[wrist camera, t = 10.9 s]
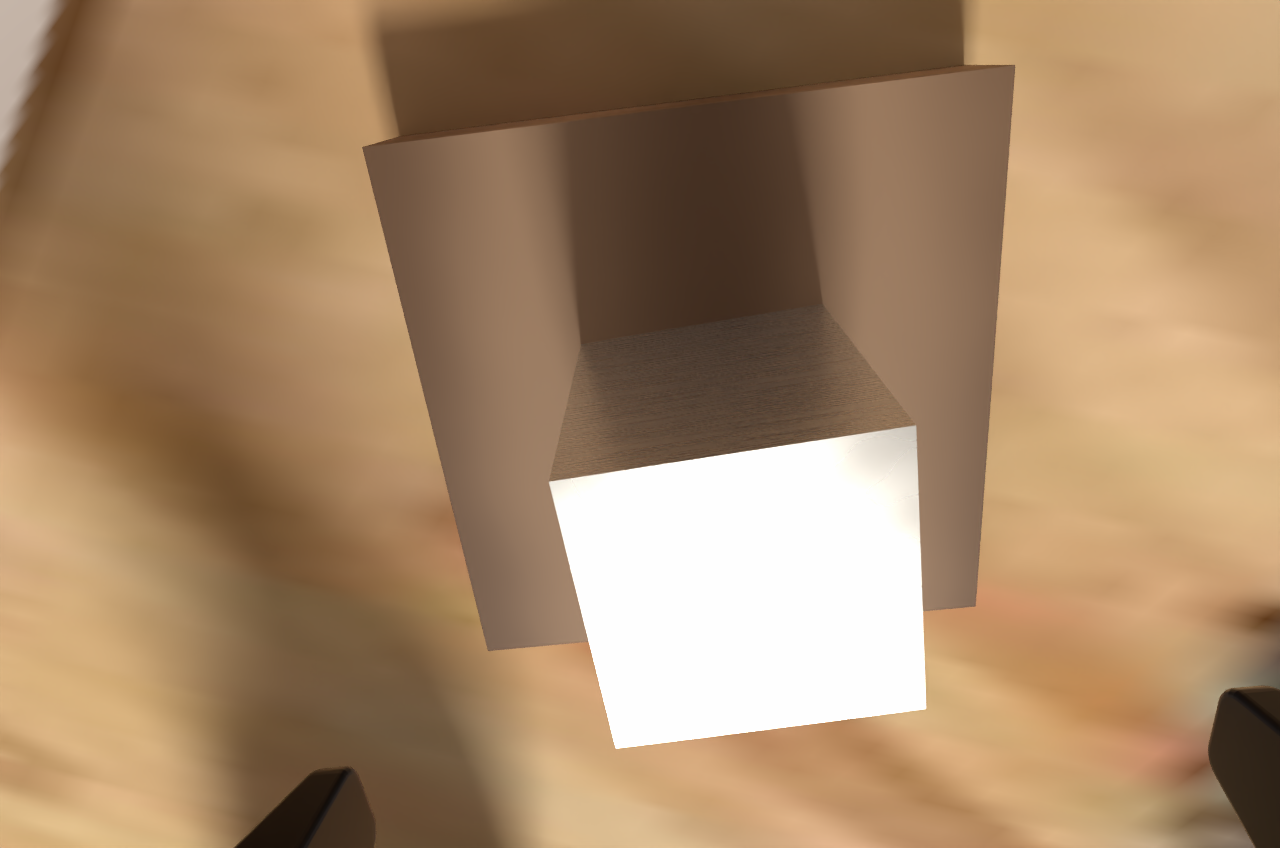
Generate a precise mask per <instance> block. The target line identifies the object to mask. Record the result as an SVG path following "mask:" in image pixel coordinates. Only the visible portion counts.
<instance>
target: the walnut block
mask: <svg viewBox="0 0 1280 848" xmlns="http://www.w3.org/2000/svg"><path fill="white" fill-rule="evenodd" d="M1014 75H1015V65H962V66H954V67H946V68H938V69H930V70H923V71H915V72H907V73H899V74H891V75H883V76H875V77H867V78H859V79H851V80H843V81H835V82H827V83H819V84H812V85H804V86H796V87H788V88H780V89H772V90H764V91H756V92H748V93H740V94H732V95H724V96H716V97H708V98H701V99H693V100H685V101H677V102H669V103H661V104H653V105H645V106H637V107H629V108H621V109H613V110H605V111H597V112H590V113H582V114H574V115H566V116H558V117H550V118H542V119H534V120H526V121H518V122H510V123H502V124H494V125H486V126H478V127H471V128H463V129H455V130H447V131H439V132H431V133H423V134H415V135H407V136H399V137H396V138H393V139H389V140H386V141H382V142H379V143H375V144H372V145H369V146H365V147H362V148H363V152H364V156H365V160H366V164H367V168H368V172H369V176H370V180H371V184H372V188H373V192H374V196H375V200H376V204H377V208H378V212H379V216H380V220H381V224H382V228H383V232H384V236H385V240H386V244H387V248H388V252H389V256H390V260H391V264H392V268H393V272H394V276H395V280H396V284H397V288H398V292H399V296H400V300H401V304H402V308H403V312H404V316H405V320H406V324H407V328H408V332H409V336H410V340H411V344H412V348H413V352H414V356H415V360H416V364H417V368H418V372H419V376H420V380H421V384H422V388H423V392H424V396H425V400H426V404H427V408H428V412H429V416H430V420H431V424H432V428H433V432H434V436H435V440H436V444H437V448H438V452H439V456H440V460H441V464H442V468H443V472H444V477H445V481H446V485H447V489H448V493H449V497H450V501H451V505H452V509H453V513H454V517H455V521H456V525H457V529H458V533H459V537H460V541H461V545H462V549H463V553H464V557H465V561H466V565H467V569H468V573H469V577H470V581H471V585H472V589H473V593H474V597H475V601H476V605H477V609H478V613H479V617H480V621H481V625H482V629H483V633H484V637H485V641H486V645H487V649H488V651H493V650H504V649H515V648H525V647H536V646H547V645H558V644H569V643H580V642H589V639H588V635H587V631H586V628H585V624H584V620H583V616H582V612H581V608H580V604H579V600H578V596H577V592H576V588H575V584H574V580H573V576H572V572H571V568H570V564H569V560H568V556H567V552H566V548H565V544H564V540H563V536H562V532H561V528H560V524H559V520H558V516H557V513H556V509H555V505H554V501H553V497H552V493H551V489H550V485H549V479H550V474H551V470H552V466H553V461H554V457H555V453H556V449H557V444H558V440H559V436H560V431H561V427H562V423H563V419H564V414H565V410H566V406H567V401H568V397H569V393H570V389H571V384H572V380H573V376H574V371H575V367H576V363H577V359H578V354H579V350H580V346H581V344H584V343H590V342H596V341H602V340H608V339H614V338H620V337H626V336H632V335H638V334H644V333H650V332H656V331H662V330H668V329H674V328H680V327H686V326H692V325H698V324H704V323H710V322H716V321H722V320H728V319H734V318H740V317H746V316H752V315H758V314H764V313H770V312H776V311H782V310H788V309H794V308H800V307H806V306H812V305H818V304H823V305H824V306H825V307H826V309H827V310H828V311H829V313H830V314H831V315H832V317H833V318H834V319H835V320H836V322H837V323H838V324H839V326H840V327H841V328H842V330H843V331H844V332H845V333H846V335H847V336H848V337H849V339H850V340H851V341H852V343H853V344H854V345H855V346H856V348H857V349H858V350H859V352H860V353H861V354H862V356H863V357H864V358H865V359H866V361H867V362H868V363H869V365H870V366H871V367H872V369H873V370H874V371H875V372H876V374H877V375H878V376H879V378H880V379H881V380H882V382H883V383H884V384H885V385H886V387H887V388H888V389H889V391H890V392H891V393H892V395H893V396H894V397H895V398H896V400H897V401H898V402H899V404H900V405H901V406H902V407H903V409H904V410H905V411H906V413H907V414H908V415H909V417H910V418H911V419H912V420H913V422H914V423H915V424H916V433H917V462H918V491H919V519H920V548H921V577H922V605H923V611H931V610H942V609H953V608H964V607H975V606H976V593H977V579H978V566H979V552H980V538H981V525H982V511H983V497H984V484H985V470H986V457H987V443H988V429H989V416H990V402H991V389H992V375H993V361H994V348H995V334H996V320H997V307H998V293H999V280H1000V266H1001V252H1002V239H1003V225H1004V212H1005V198H1006V184H1007V171H1008V157H1009V144H1010V130H1011V116H1012V103H1013V89H1014Z"/></svg>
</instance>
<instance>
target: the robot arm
mask: <svg viewBox="0 0 1280 848" xmlns="http://www.w3.org/2000/svg"><path fill="white" fill-rule="evenodd" d="M1208 755H1209V760H1210V764H1211V767H1212V770H1213V772H1214V774H1215V776H1216V778H1217V780H1218V782H1219V783H1220V785H1221V787H1222V789H1223V791H1224V792H1225V794H1226V796H1227V798H1228V800H1229V802H1230V803H1231V805H1232V807H1233V809H1234V811H1235V812H1236V814H1237V816H1238V818H1239V820H1240V822H1241V823H1242V825H1243V827H1244V829H1245V831H1246V832H1247V834H1248V836H1249V838H1250V840H1251V842H1252V843H1253V845H1254V847H1255V848H1280V690H1279V689H1276V688H1274V687H1270V686H1252V687H1240V688H1231V689H1228V690H1226V691H1225V692H1224V693H1223V694H1222V695H1221V696H1220V699H1219V702H1218V706H1217V710H1216V715H1215V719H1214V723H1213V728H1212V732H1211V736H1210V740H1209V745H1208ZM375 841H376V823H375V818H374V815H373V812H372V809H371V807H370V804H369V801H368V799H367V796H366V794H365V791H364V788H363V786H362V783H361V780H360V778H359V775H358V773H357V772H356V771H355V770H354V769H353V768H352V767H336V768H325V769H318V770H316V771H314V772H312V773H311V774H309V775H308V776H307V777H306V778H305V779H304V780H303V781H302V782H301V783H300V784H299V785H298V786H297V787H296V788H295V789H294V790H293V791H291V792H290V793H289V794H288V795H287V796H286V797H285V798H284V799H283V800H282V801H281V802H280V803H279V804H278V805H277V806H276V807H275V808H274V809H273V810H272V811H271V812H270V813H269V814H268V815H267V816H266V817H265V818H264V819H263V820H262V821H261V822H260V823H259V824H258V825H257V826H256V827H255V828H253V829H252V830H251V831H250V832H249V833H248V834H247V835H246V836H245V837H244V838H243V839H242V840H241V841H240V842H239V843H238V844H237V845H236V846H235V847H234V848H374V847H375Z"/></svg>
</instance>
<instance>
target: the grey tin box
mask: <svg viewBox="0 0 1280 848" xmlns="http://www.w3.org/2000/svg"><path fill="white" fill-rule="evenodd" d="M549 485H550V489H551V493H552V497H553V501H554V505H555V509H556V513H557V516H558V520H559V524H560V528H561V532H562V536H563V540H564V544H565V548H566V552H567V556H568V560H569V564H570V568H571V572H572V576H573V580H574V584H575V588H576V592H577V596H578V600H579V604H580V608H581V612H582V616H583V620H584V624H585V628H586V631H587V635H588V639H589V643H590V647H591V651H592V655H593V659H594V663H595V667H596V671H597V675H598V679H599V683H600V687H601V691H602V695H603V699H604V703H605V707H606V711H607V715H608V719H609V723H610V727H611V731H612V735H613V739H614V742H615V746H616V748H622V747H630V746H638V745H646V744H653V743H661V742H669V741H677V740H685V739H693V738H701V737H709V736H717V735H724V734H732V733H740V732H748V731H756V730H764V729H772V728H780V727H788V726H795V725H803V724H811V723H819V722H827V721H835V720H843V719H851V718H859V717H866V716H874V715H882V714H890V713H898V712H906V711H914V710H922V709H926V691H925V663H924V634H923V605H922V577H921V548H920V519H919V491H918V462H917V433H916V424H915V423H914V422H913V420H912V419H911V418H910V417H909V415H908V414H907V413H906V411H905V410H904V409H903V407H902V406H901V405H900V404H899V402H898V401H897V400H896V398H895V397H894V396H893V395H892V393H891V392H890V391H889V389H888V388H887V387H886V385H885V384H884V383H883V382H882V380H881V379H880V378H879V376H878V375H877V374H876V372H875V371H874V370H873V369H872V367H871V366H870V365H869V363H868V362H867V361H866V359H865V358H864V357H863V356H862V354H861V353H860V352H859V350H858V349H857V348H856V346H855V345H854V344H853V343H852V341H851V340H850V339H849V337H848V336H847V335H846V333H845V332H844V331H843V330H842V328H841V327H840V326H839V324H838V323H837V322H836V320H835V319H834V318H833V317H832V315H831V314H830V313H829V311H828V310H827V309H826V307H825V306H824V305H823V304H818V305H812V306H806V307H800V308H794V309H788V310H782V311H776V312H770V313H764V314H758V315H752V316H746V317H740V318H734V319H728V320H722V321H716V322H710V323H704V324H698V325H692V326H686V327H680V328H674V329H668V330H662V331H656V332H650V333H644V334H638V335H632V336H626V337H620V338H614V339H608V340H602V341H596V342H590V343H584V344H581V346H580V350H579V354H578V359H577V363H576V367H575V371H574V376H573V380H572V384H571V389H570V393H569V397H568V401H567V406H566V410H565V414H564V419H563V423H562V427H561V431H560V436H559V440H558V444H557V449H556V453H555V457H554V461H553V466H552V470H551V474H550V479H549Z"/></svg>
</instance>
